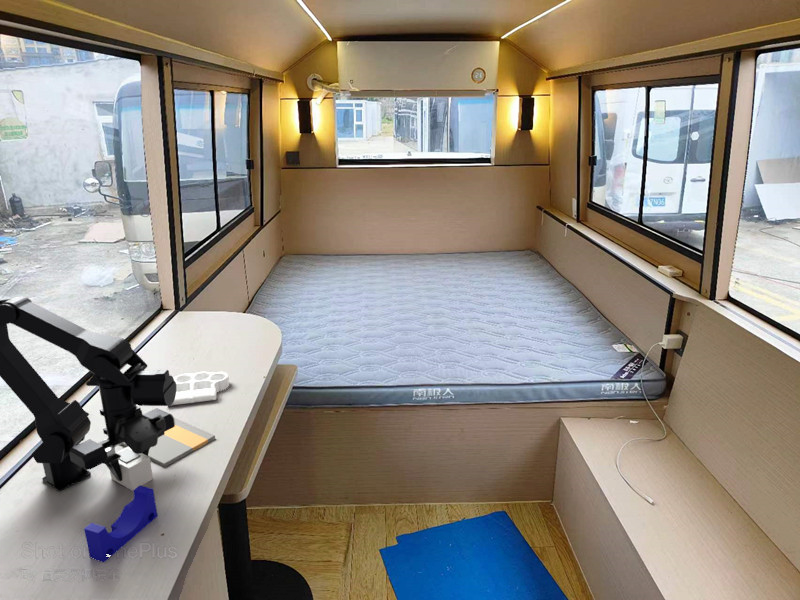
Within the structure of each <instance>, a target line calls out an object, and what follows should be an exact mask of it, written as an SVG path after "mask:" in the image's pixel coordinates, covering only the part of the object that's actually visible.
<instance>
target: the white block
mask: <svg viewBox="0 0 800 600" xmlns="http://www.w3.org/2000/svg"><path fill="white" fill-rule="evenodd" d="M116 453H117V454H118V455H120V456H121V457H120V458H119V465H120V469H121V473H122V481H118V480H117V479H116V477H115V476H114V475H113V474H112V472H111V471H110V470H109V472H110V478H111V480H113V481H115V482H116V483H118V484H120V485H121V486H123V487H125V488H127V489H129V490H130V491H132V492H134V490H135V489H136V488H137V487H138V486H144V485H145V484H147V483H149V482H150V481H152V480H153V479H154V477H153V469H152V465H151V460H150V457H148V456H146V455H144V454H142V453H140V454H136V453H134V452H133V451H132V450H131V449H130V448H129V447H124V448H123V449H121V450H118V451H117V452H116Z"/></svg>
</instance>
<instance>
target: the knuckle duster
mask: <svg viewBox="0 0 800 600" xmlns="http://www.w3.org/2000/svg"><path fill="white" fill-rule="evenodd" d="M172 377H173V376H172ZM173 378H174V381H176V396H175V400H174V402H173V404H172V405H171V406H170V407H172V406H177V405H186V404H195V403H201V402H209V401H210V402H211V401H216V400H217V394H218V393H219V391H220V392H222V390H223V391H225V390H227V389H228V388H229V387H230V381H229V379H230V378H229V374H228V373H227V372H224V371H218V372H217V371H216V372H211V371H210V372H209V371H199V372H195V373H194V372H193V373H192V372H191V373H183V374H178V375H177V376H174V377H173ZM228 386H229V387H228ZM227 387H228V388H227ZM226 388H227V389H226ZM224 389H225V390H224ZM217 392H218V393H217Z"/></svg>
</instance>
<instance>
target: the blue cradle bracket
mask: <svg viewBox="0 0 800 600" xmlns="http://www.w3.org/2000/svg"><path fill="white" fill-rule="evenodd" d="M157 517H158V509H157V504H156V498H155V491H154V488H151V487H148V486H147V487H146V486H144V485H141V486H138V487H137V488H136V489H134V490H133V499H132V500H131V501H129V502H128V503H127V504H125V505H124V507H123V509H122V510H121V512H120V514H119V516H118V518H117V519H116V520H115V521H114V522H113V523H112V524H111V525H110V528H111V531H110V532H108V530H107V527H106V526H104V525H100V524H97V523H93V522H90V523H89V524H88V525H87V526H85V527H84V528H83V531H84V535H85V539H86V540H85V541H86V545H87V549H88V554H89V558H90V557H92V558H94V559H93V560H95V559H96V560H95V561H98V560H99V561H98V562H101V561H102V562H101V563H106V560H107V559H108V558H109V557H106V556H107V555H106V554H109V555H111V557H113V554H114V553H115V552H116V551H117V552H118V551H120V549H122V548H123V547H124V546H125V545H126V544H128V542H130V541H131V540H132V539H134V537H136V535H138V534H139V533H140V532H141V531H143V530H144V529H145V528H146V527H147V526H148V525H150V524H151V523H152V522H153V521H154V520H155V519H157ZM121 547H122V548H121ZM117 552H116V553H117ZM116 553H115V554H116ZM115 554H114V555H115ZM92 558H91V559H92ZM109 559H110V558H109ZM109 559H108V560H109Z"/></svg>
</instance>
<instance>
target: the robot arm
mask: <svg viewBox="0 0 800 600" xmlns="http://www.w3.org/2000/svg"><path fill="white" fill-rule="evenodd" d="M9 324H12V325H14V326H16V327H18V328H20V329H22V330H25V331H26V332H28V333H30V334H32V335H34V336H35V337H37V338H40V339H42V340H44V341H46V342H48V343H50V344H52V345H54V346H56V347H58V348H60V349H63V350H64V351H66V352H69V353H70V354H71V355H73V356H75V358H76V359H77V360H78V362H79V364H80V365H81V366H82V367H84V368H85V369H86V370H88V371H89V372H91V373H92V374H93V375H92V376H91V377H90V378H89V379H88V381H86V382H85V385H86V386H87V387H98V388H99V395H100V396H99V397H100V400H101V401H100V402H101V407H102V408H101V409H99V414H100V415H101V416H103V419H104V422H105V428H103V429H102V430H103V434H105V435H106V436H107V438H105V439H104V440H102V441H99V442H97V441H94V440H93V439H90V438H89V439H87V440H85V437H86V435H87V434H89V432H90V429H91V425H92V422H91V420H90V418H89V415H90V414H89V412H88V411H85V410H84V409H83V407H82V406H81V404H80V402H79V401H77V400H76V399H74V400H72V401H71V402H68V401H66V400H63V399H60V398H59V397H58V395H56V393H55V391H53V390H52V389H51V387H50V386H49V385H48V383H46V381H45V380H44V379H43V378H42V377H41V376H40V375H39V373H38V372H37V371H36V370H35V368H34V367H33V366H32V365H31V364H30V362H29V361H28V360H27V359H26V358H25V356H24V355H23V354H22V353H21V352H20V350H19V349H18V348H17V347H16V345H14V344H13V342H12V341H11V339H10V337H9V336H10V335H9V329H8V325H9ZM127 365H129V366H130V367H129V368H127V369H126V370H125V371H124V372H123V371H122V370H123V369H124V368H125V367H126V366H127ZM147 368H148V363H146V362H145V361H144V360H143V359H142V357H141V356H139V355H138V354H137V352H136V351H134V349H133V348H132V345H131V343H130V342H129V341H128V340H126V339H125V338H123V337H119V336H116V335H114V334H111V333H107V332H100V331H99V332H96V331H95V332H94V331H91V330H89V329H87V328H84V327H82V326H80V325H78V324H76V323H74V322H72V321H70V320H68V319H66V318H64V317H63V316H60V315H58V314H56V313H54V312H52V311H51V310H48V309H46V308H44V307H42V306H40V305H38V304H36V303H34V302H33V301H32V300H31V299H30V298H28V297H26V296H21V295H19V296H14V297H13V298H6V299H1V300H0V378H1V379H2V380H3V382H4V383H6V385H7V386H8V387H9V388H10V389H11V390H12V392H13V393H14V394H15V396H17V398H18V399H19V400H20V401H21V402H22V404H24V405H25V407H26V408H27V409H28V410H29V412H30V413H31V414H32V416H34V422H35V428H36V433H37V435H38V436H39V438H40V440H41V441H42V442H41V444H39V445H38V447H36V449H35V450H34V451H33V452H32V453H31V456H32V457H33V459H34V460H35V462H36V463H37V464H42V466H43V470H44V475H45V476H44V477H42V478H41V479H42V481H43V482H44V483H46V484H47V485H48V486H50V487H52V488H53V489H55V490H56V491H58V492H60V491H62V490H65V489H67V488H68V487H70V486H72V485H74V484H76V483H78V482H80V481H82V480H83V479H86V478H88V477H90V476H91V475H92V473H91V471H90V470H92V469H94V468H96V467H98V466H100V465H102V464H104V465H105V466H106V467H107V469H108V470H109V472H110V471H111V472H112V474H113V475H114V476H115V477H116V479H117V480H118V481H122V473H121V469H120V465H119V458H120V457H121V456H120V455H118V454H117V452H116V449H115V448H116V447H118V446H120V445H121V444H122V443H125V444H126V445H127V446H128V447H129V448H130V449H131V450H132V451H133V452H134V453H136V454H140V453H142V454H144V455H146V456H148V453H149V450H150V448H151V447H154V446H156V445H157V442H158V438H159V437H160V436H162V435H164V434H165V433H164V432H165V431H167V430H169V429H171V428H173V427H175V421H174V418H175V417H174V415H173V414H171V413H169V412H167V411H165V410H162V409H160V408H157V407H172V406H173V405H172V404H173V402H174V400H175V396H176V381H174V378H173V376H172V375H171V374H170V370H168V369H159V370H146V369H147ZM171 405H172V406H171ZM141 406H142V407H147V406H148V407H155V406H156V408H154V409H152V410H149V411H147V412H145V413H143V412H142V411H143V410H141V409H142V408H141ZM84 440H85V441H84Z"/></svg>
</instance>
